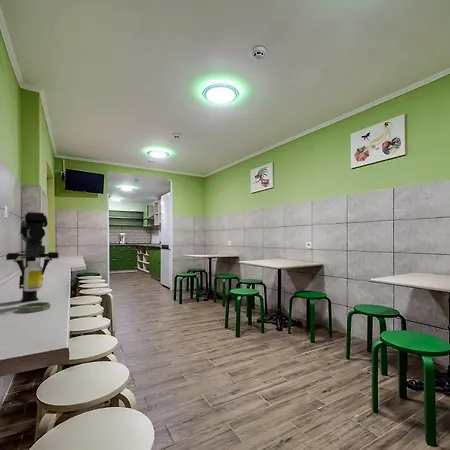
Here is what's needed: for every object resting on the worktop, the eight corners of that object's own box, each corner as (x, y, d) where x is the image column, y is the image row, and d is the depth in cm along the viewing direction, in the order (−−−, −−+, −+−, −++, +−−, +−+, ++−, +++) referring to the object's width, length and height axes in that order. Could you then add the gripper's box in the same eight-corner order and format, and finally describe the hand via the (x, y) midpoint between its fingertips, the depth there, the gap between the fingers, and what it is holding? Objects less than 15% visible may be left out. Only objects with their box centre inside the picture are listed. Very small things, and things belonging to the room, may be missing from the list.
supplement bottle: (45, 289, 123) (46, 260, 124) (31, 291, 116) (33, 261, 117) (33, 288, 124) (34, 260, 125) (19, 291, 118) (20, 261, 119)
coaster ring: (17, 309, 113) (17, 304, 113) (48, 305, 120) (48, 301, 120) (18, 314, 105) (18, 309, 105) (51, 309, 112) (51, 305, 112)
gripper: (4, 239, 110) (2, 278, 109) (58, 239, 120) (57, 275, 119) (9, 240, 120) (7, 276, 119) (59, 240, 129) (57, 273, 128)
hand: (33, 275), depth 121 cm, fingers closed on supplement bottle, 7 cm apart
